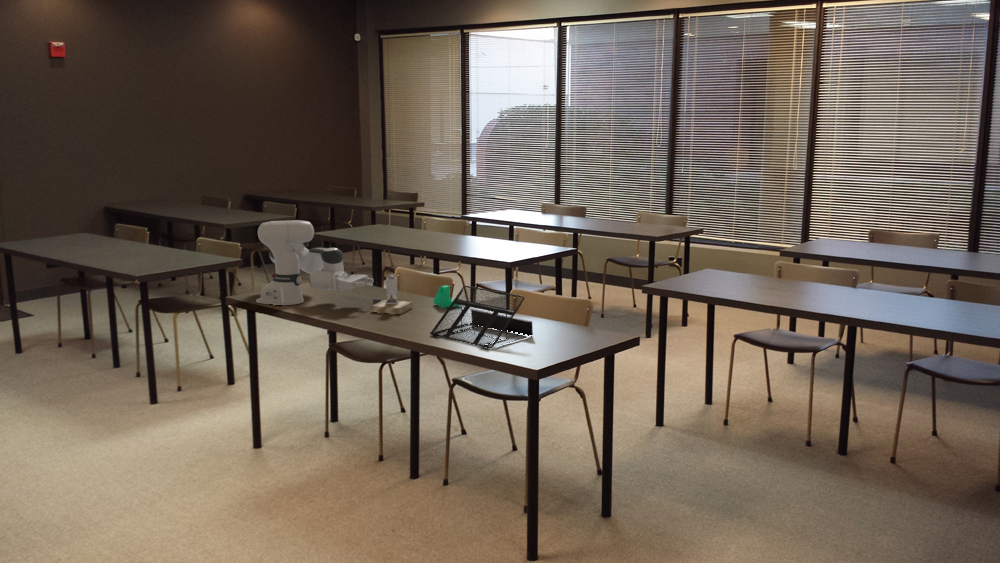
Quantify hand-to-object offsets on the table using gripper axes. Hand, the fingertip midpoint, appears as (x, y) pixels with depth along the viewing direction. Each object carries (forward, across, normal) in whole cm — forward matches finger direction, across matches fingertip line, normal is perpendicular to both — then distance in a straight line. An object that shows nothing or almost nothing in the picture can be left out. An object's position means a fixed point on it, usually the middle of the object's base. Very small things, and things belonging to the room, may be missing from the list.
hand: (368, 282), depth 379 cm
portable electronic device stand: (+64, +32, -14) cm, 73 cm away
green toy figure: (+33, -16, -13) cm, 39 cm away
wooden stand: (+12, +1, -12) cm, 17 cm away
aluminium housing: (+12, +1, -9) cm, 15 cm away
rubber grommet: (+1, -7, -12) cm, 14 cm away
